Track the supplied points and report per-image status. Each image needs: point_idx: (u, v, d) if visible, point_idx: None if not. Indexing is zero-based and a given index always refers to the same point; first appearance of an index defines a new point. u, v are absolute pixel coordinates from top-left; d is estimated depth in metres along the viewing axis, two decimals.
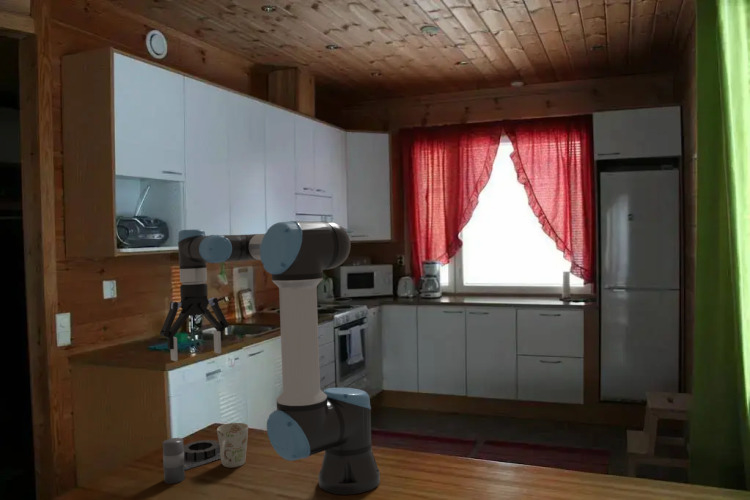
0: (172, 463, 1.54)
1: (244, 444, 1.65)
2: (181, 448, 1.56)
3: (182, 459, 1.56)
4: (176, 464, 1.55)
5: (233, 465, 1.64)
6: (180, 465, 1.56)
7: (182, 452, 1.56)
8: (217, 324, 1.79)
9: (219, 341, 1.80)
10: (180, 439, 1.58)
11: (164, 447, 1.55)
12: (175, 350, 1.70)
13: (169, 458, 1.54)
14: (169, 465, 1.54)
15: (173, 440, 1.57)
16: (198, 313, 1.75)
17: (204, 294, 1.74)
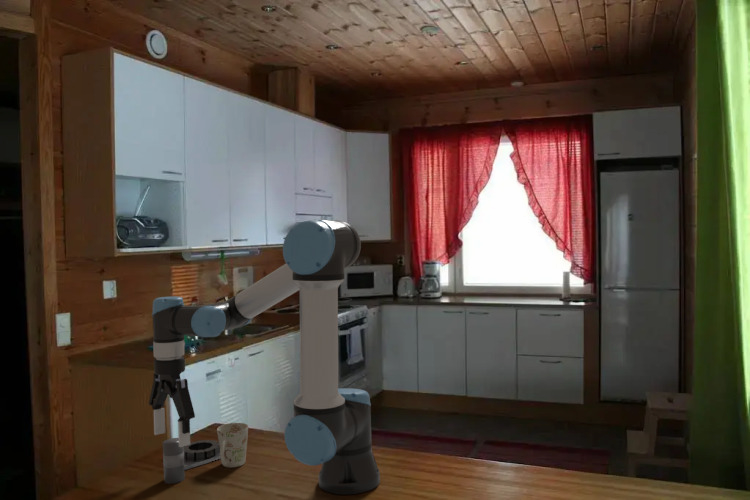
0: (172, 463, 1.54)
1: (244, 444, 1.65)
2: (181, 448, 1.56)
3: (182, 459, 1.56)
4: (176, 464, 1.55)
5: (233, 465, 1.64)
6: (180, 465, 1.56)
7: (182, 452, 1.56)
8: (178, 412, 1.51)
9: (179, 432, 1.51)
10: None
11: (164, 447, 1.55)
12: (154, 423, 1.61)
13: (169, 458, 1.54)
14: (169, 465, 1.54)
15: (173, 440, 1.57)
16: (167, 392, 1.55)
17: (159, 373, 1.53)
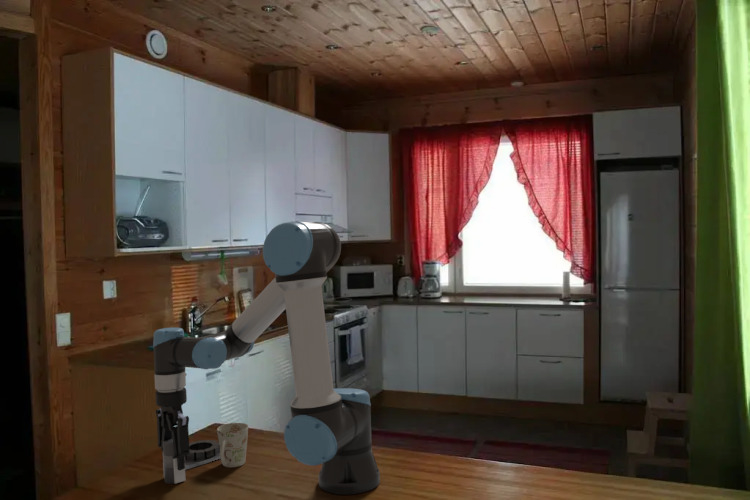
0: (172, 463, 1.54)
1: (244, 444, 1.65)
2: None
3: None
4: None
5: (233, 465, 1.64)
6: None
7: None
8: (174, 447, 1.54)
9: (174, 469, 1.54)
10: None
11: (164, 447, 1.55)
12: (163, 465, 1.58)
13: (169, 458, 1.54)
14: (169, 465, 1.54)
15: None
16: None
17: (161, 405, 1.53)
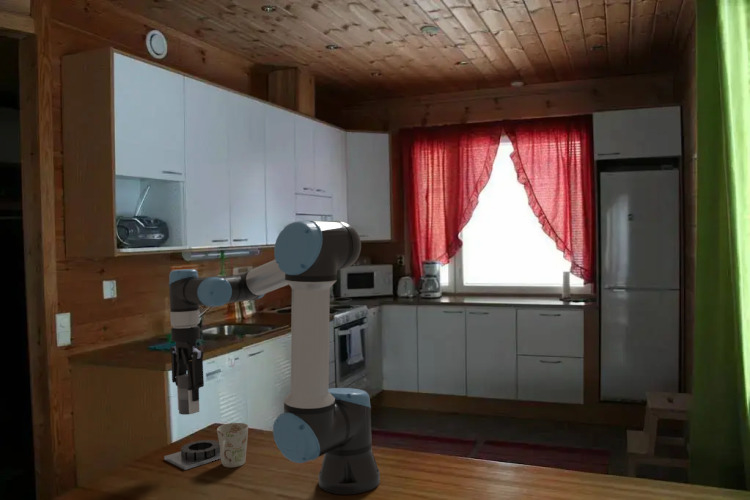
0: (186, 395, 1.64)
1: (244, 444, 1.65)
2: None
3: None
4: None
5: (233, 465, 1.64)
6: None
7: None
8: (189, 380, 1.64)
9: (189, 400, 1.64)
10: None
11: (179, 380, 1.65)
12: None
13: (184, 390, 1.64)
14: (184, 397, 1.64)
15: (187, 375, 1.67)
16: None
17: (176, 340, 1.63)
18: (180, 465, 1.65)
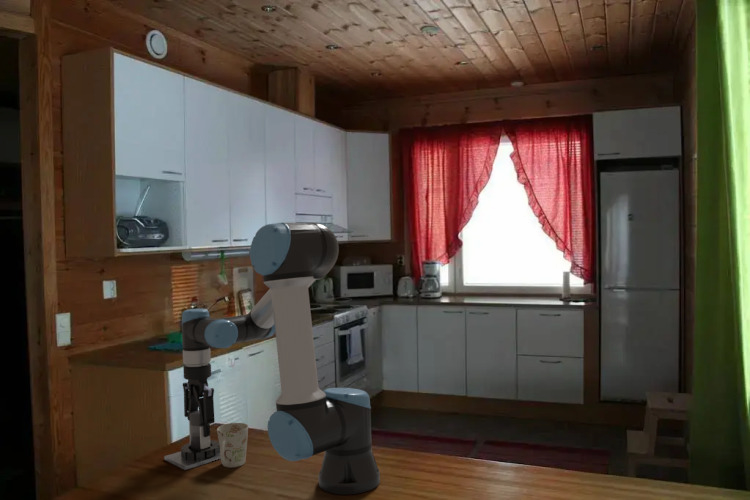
0: (198, 432, 1.71)
1: (244, 444, 1.65)
2: None
3: None
4: None
5: (233, 465, 1.64)
6: None
7: None
8: (201, 416, 1.70)
9: (200, 436, 1.70)
10: None
11: (191, 418, 1.71)
12: None
13: (195, 427, 1.71)
14: (195, 434, 1.71)
15: (198, 412, 1.74)
16: None
17: (188, 378, 1.69)
18: (180, 465, 1.65)
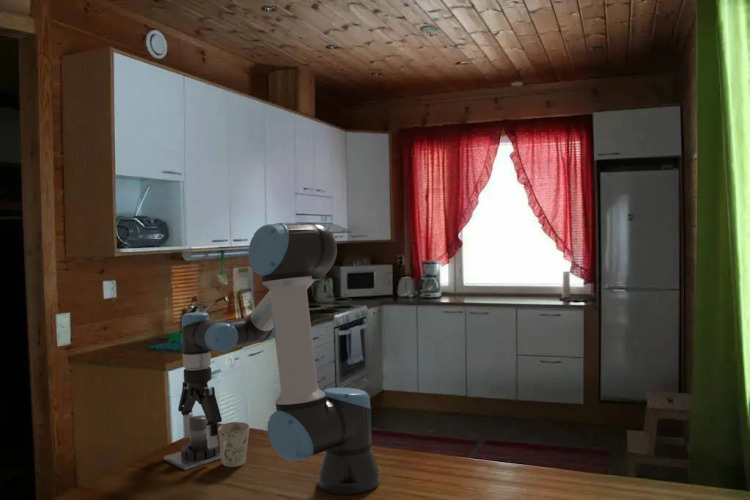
0: (198, 438, 1.71)
1: (245, 444, 1.65)
2: None
3: None
4: (201, 438, 1.71)
5: (233, 465, 1.64)
6: (205, 440, 1.72)
7: None
8: (206, 416, 1.68)
9: (207, 435, 1.67)
10: (205, 416, 1.74)
11: (191, 423, 1.71)
12: (183, 427, 1.77)
13: (195, 432, 1.71)
14: (195, 439, 1.71)
15: (198, 417, 1.74)
16: (196, 399, 1.72)
17: (189, 381, 1.69)
18: (180, 465, 1.65)
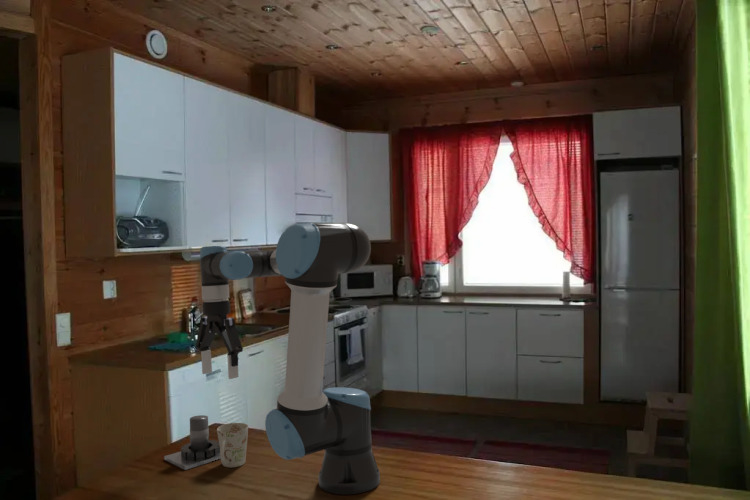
0: (198, 438, 1.71)
1: (244, 444, 1.65)
2: (206, 424, 1.72)
3: (207, 434, 1.73)
4: (202, 438, 1.71)
5: (233, 465, 1.64)
6: (205, 440, 1.72)
7: (207, 428, 1.73)
8: (227, 347, 1.67)
9: (228, 366, 1.67)
10: (205, 416, 1.74)
11: (191, 423, 1.71)
12: (202, 363, 1.76)
13: (195, 433, 1.71)
14: (195, 439, 1.71)
15: (198, 417, 1.74)
16: (215, 332, 1.71)
17: (208, 313, 1.69)
18: (180, 465, 1.65)
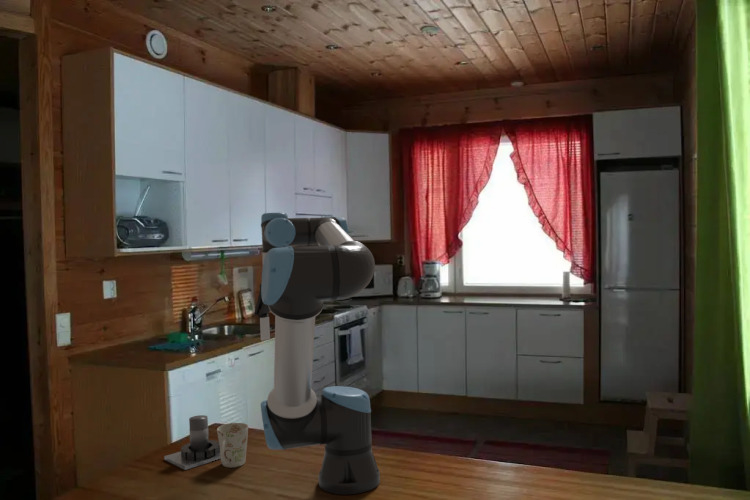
0: (197, 437, 1.71)
1: (244, 444, 1.65)
2: (206, 424, 1.73)
3: (206, 434, 1.73)
4: (201, 438, 1.71)
5: (233, 465, 1.64)
6: (205, 440, 1.72)
7: (206, 427, 1.73)
8: None
9: None
10: (205, 416, 1.75)
11: (190, 423, 1.72)
12: (261, 330, 1.77)
13: (195, 432, 1.71)
14: (195, 439, 1.71)
15: (198, 417, 1.74)
16: None
17: None
18: (180, 465, 1.65)
